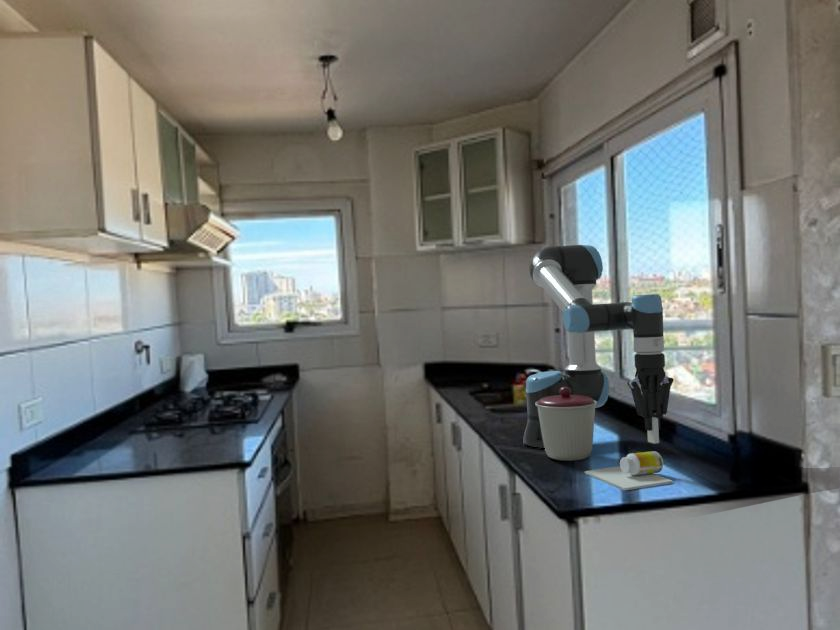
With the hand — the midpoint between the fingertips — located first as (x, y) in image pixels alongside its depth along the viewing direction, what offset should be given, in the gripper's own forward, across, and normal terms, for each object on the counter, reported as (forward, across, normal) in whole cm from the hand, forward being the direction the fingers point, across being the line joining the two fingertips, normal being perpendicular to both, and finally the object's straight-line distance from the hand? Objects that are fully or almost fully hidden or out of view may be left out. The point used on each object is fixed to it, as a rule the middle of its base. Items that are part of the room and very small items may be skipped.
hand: (653, 442), depth 170 cm
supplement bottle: (+5, +1, 0) cm, 5 cm away
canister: (+9, -10, +27) cm, 30 cm away
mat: (+8, -9, 0) cm, 12 cm away
